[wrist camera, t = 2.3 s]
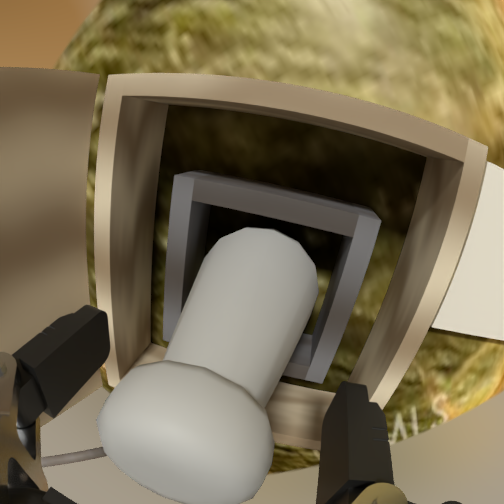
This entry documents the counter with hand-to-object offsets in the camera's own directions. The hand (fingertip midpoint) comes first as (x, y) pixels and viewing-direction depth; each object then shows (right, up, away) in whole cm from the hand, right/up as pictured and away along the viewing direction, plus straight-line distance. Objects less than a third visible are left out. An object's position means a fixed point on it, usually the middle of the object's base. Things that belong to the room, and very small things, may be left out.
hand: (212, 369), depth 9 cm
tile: (+18, +3, +4) cm, 18 cm away
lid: (-11, +1, -3) cm, 11 cm away
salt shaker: (+2, +3, +8) cm, 9 cm away
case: (+1, +3, +8) cm, 9 cm away
